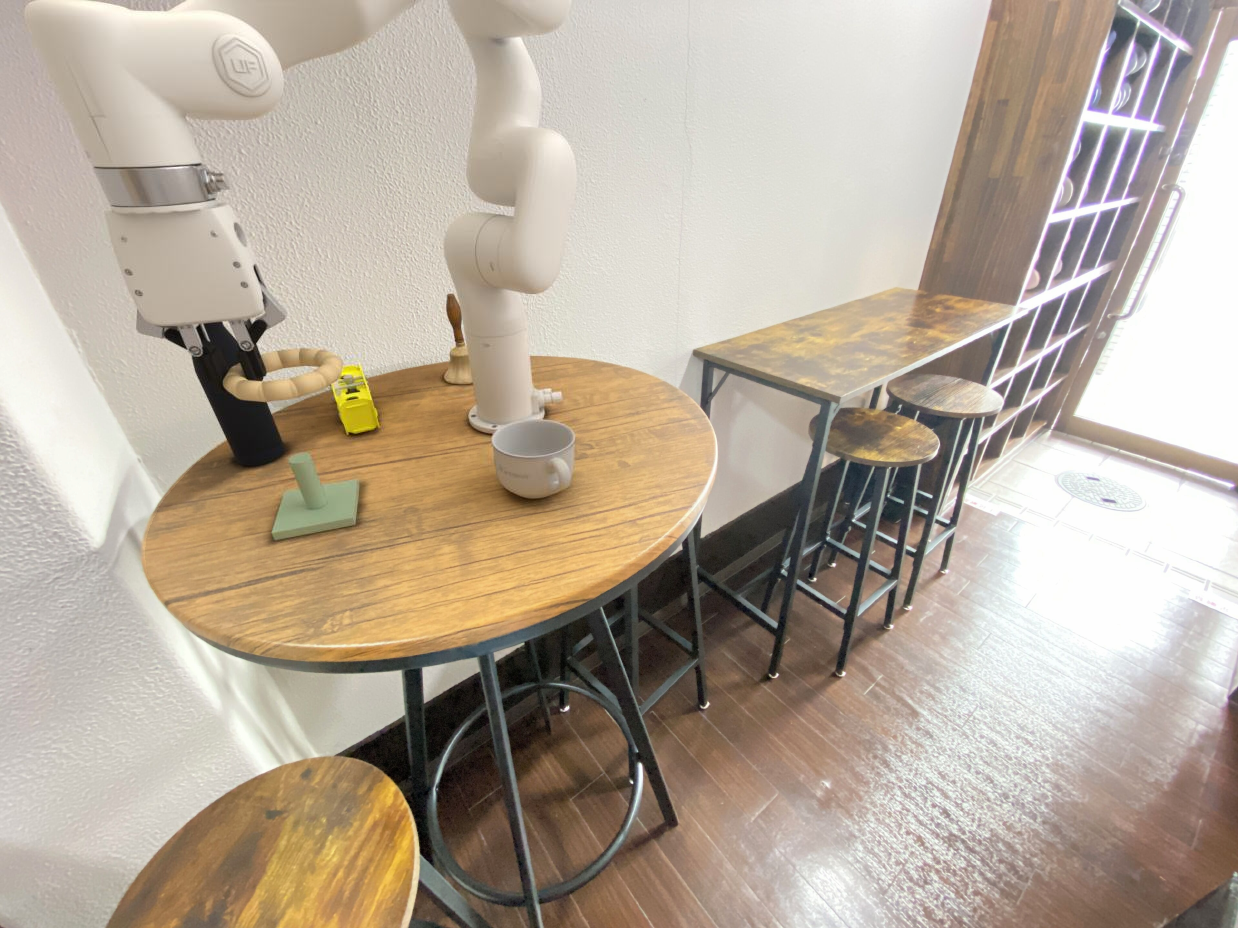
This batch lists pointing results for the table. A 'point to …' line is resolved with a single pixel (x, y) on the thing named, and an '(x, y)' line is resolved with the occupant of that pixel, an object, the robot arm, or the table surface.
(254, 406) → the black insulated water bottle
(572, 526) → the table surface
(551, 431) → the teacup
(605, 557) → the table surface
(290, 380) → the ring
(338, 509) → the post
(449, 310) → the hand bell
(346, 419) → the yellow toy chassis
